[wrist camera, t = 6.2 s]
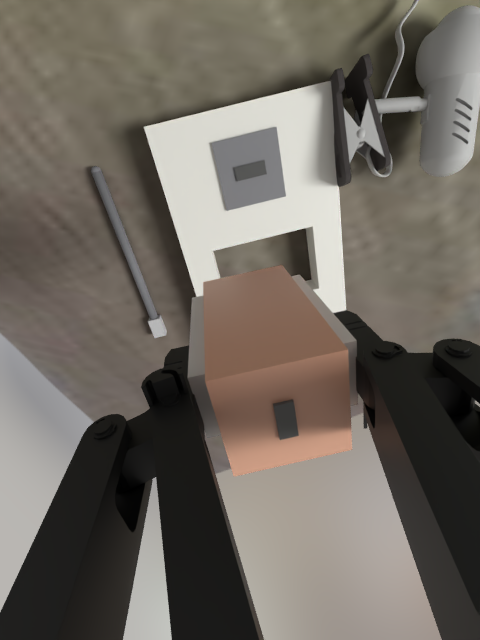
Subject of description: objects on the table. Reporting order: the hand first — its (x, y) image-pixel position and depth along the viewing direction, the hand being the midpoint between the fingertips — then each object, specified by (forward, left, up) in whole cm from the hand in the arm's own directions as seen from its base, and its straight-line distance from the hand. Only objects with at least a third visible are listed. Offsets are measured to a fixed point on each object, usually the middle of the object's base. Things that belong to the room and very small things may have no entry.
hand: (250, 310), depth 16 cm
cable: (-1, -9, -15) cm, 18 cm away
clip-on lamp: (-11, +16, -16) cm, 25 cm away
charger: (0, 0, 0) cm, 0 cm away
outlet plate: (0, +3, -15) cm, 16 cm away
